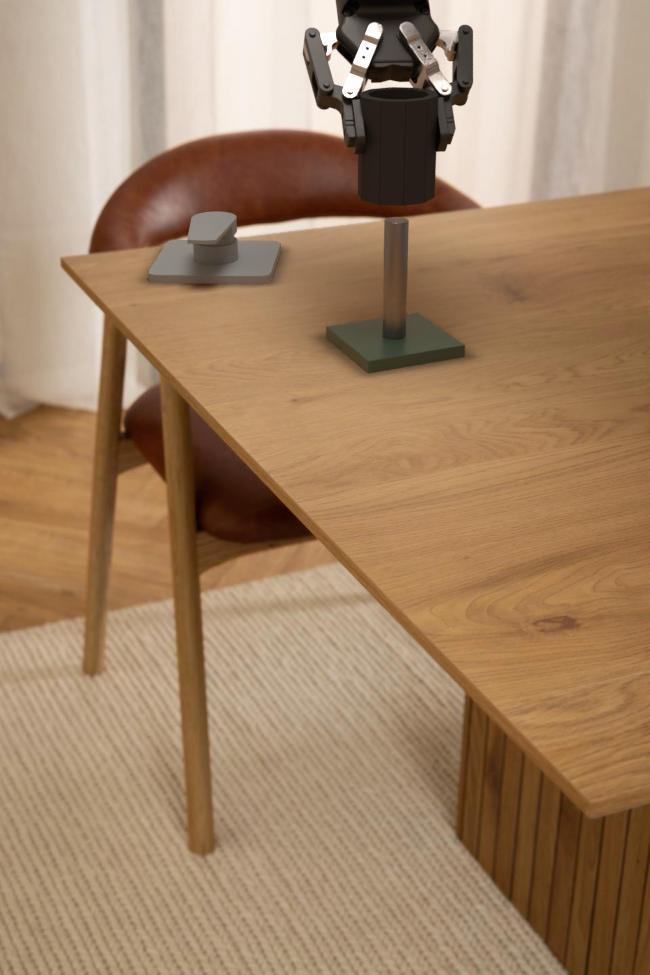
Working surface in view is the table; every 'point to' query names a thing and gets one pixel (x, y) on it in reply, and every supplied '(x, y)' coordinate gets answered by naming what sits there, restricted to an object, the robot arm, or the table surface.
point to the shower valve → (215, 255)
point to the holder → (394, 319)
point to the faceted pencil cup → (398, 146)
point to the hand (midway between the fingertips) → (401, 146)
